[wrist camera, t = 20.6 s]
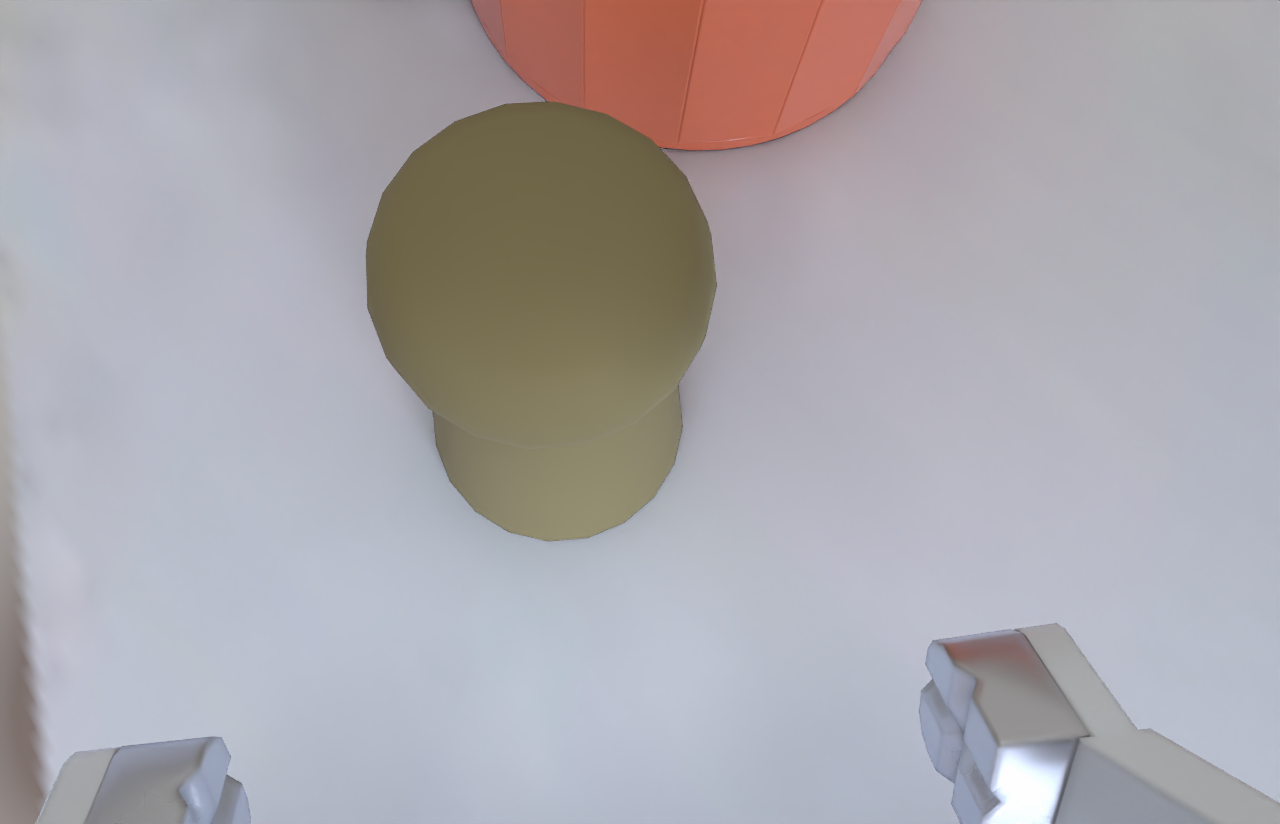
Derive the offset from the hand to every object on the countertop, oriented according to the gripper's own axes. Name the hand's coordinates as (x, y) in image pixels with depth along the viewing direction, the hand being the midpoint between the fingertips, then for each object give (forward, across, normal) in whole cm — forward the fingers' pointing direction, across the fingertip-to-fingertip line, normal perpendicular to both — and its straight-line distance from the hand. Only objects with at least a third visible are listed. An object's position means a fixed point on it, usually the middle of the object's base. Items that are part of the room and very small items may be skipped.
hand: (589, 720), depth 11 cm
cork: (+13, 0, +4) cm, 13 cm away
